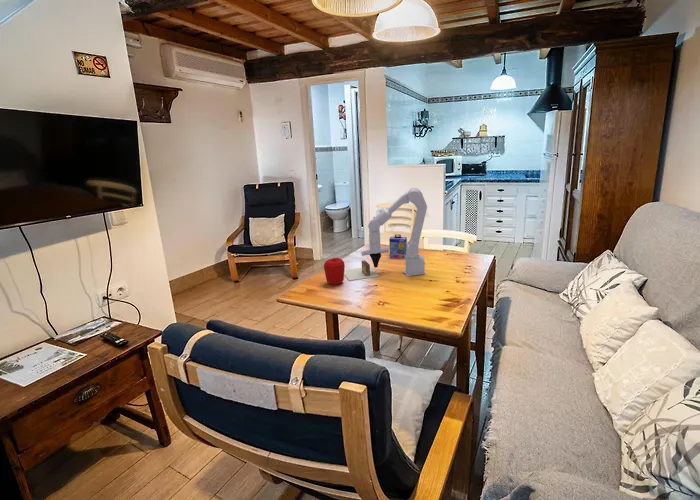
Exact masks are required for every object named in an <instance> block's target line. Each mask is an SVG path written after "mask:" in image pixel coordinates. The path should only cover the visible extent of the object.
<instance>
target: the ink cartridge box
mask: <svg viewBox="0 0 700 500" xmlns="http://www.w3.org/2000/svg"><path fill="white" fill-rule="evenodd" d="M407 245H408V237H407V236H402V235H401V234H394V236H390V237H389V245H388V247H389V259H401V260H403V259H405V256H406V247H407Z"/></svg>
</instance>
